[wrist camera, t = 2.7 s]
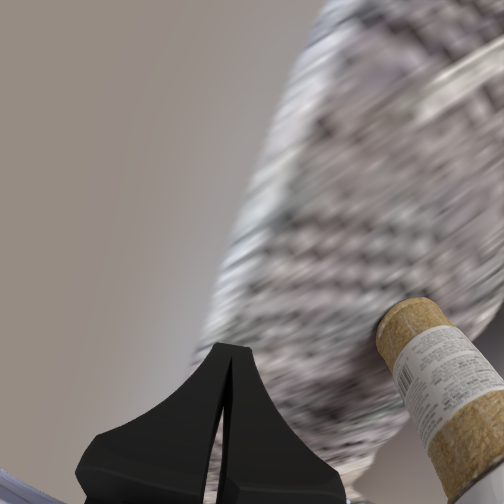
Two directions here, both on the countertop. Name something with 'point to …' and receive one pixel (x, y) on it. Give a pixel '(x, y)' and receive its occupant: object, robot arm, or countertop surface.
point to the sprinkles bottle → (448, 399)
